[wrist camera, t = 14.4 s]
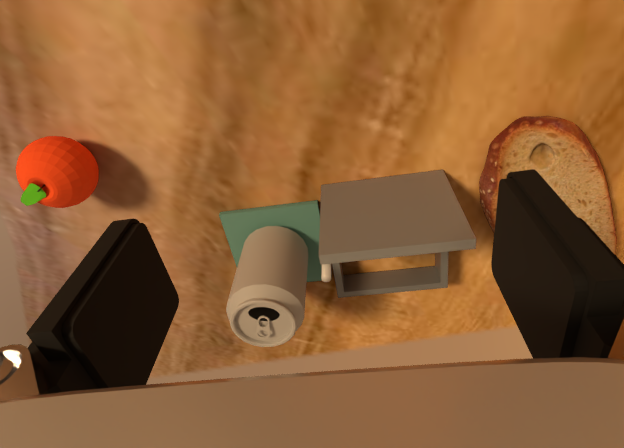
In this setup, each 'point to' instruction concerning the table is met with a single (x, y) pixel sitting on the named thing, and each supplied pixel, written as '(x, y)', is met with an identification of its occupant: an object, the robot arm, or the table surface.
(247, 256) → the can
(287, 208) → the mat
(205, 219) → the table surface
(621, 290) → the robot arm
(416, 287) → the grey open box
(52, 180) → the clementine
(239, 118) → the table surface
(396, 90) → the table surface
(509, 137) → the slice of bread
